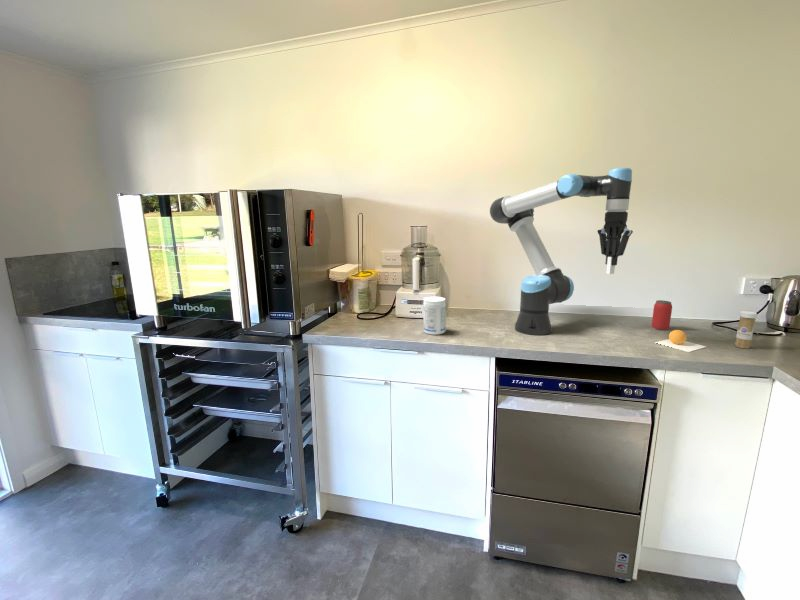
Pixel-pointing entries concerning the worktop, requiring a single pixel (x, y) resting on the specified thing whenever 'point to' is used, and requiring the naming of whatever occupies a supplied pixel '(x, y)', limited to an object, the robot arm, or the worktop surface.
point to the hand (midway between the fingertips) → (610, 273)
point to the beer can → (662, 315)
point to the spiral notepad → (681, 345)
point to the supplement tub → (434, 315)
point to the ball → (677, 337)
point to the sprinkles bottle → (745, 329)
